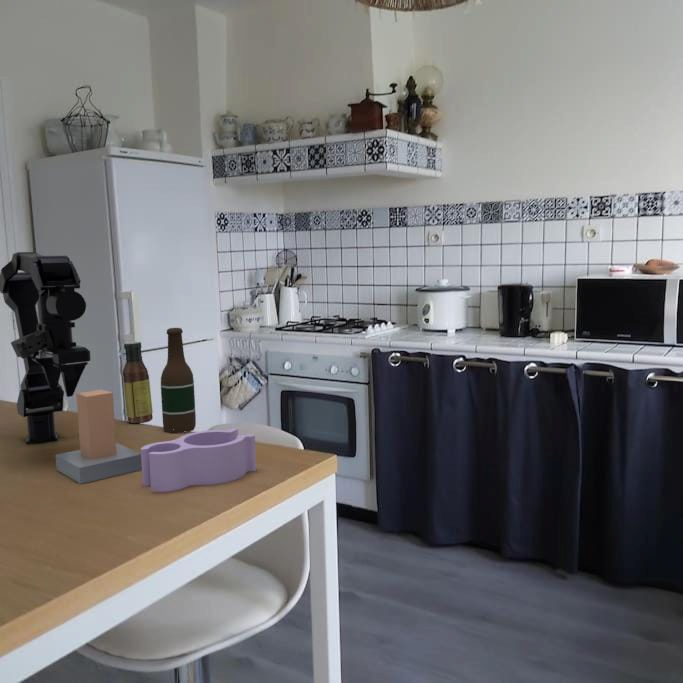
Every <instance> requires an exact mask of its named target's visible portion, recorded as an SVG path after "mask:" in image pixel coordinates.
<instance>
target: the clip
mask: <svg viewBox="0 0 683 683" xmlns="http://www.w3.org/2000/svg"><path fill="white" fill-rule="evenodd" d="M255 435H256V434H239V429H238V428H237V427H234V428H232V427H231V428H230V429H211V430H201V431H194V432H191V433H187V434H184V435H182V436H180V437H177V438H176V439H172V440H167V441H159V442H152V443H149V444H145V445H144V446H142V447H141V448H140V454H141V462H142V470H141V476H142V486H143V487H150V492H151V493H167V492H168V493H169V492H174V491H178V490H181V489H182V490H183V489H185V488H188V487H190V486H191V487H192V486H198V485H199V486H201V485H202V486H206V485H208V486H209V485H210V486H211V485H217V484H218V485H219V484H226V483H230V482H233V481H237V480H238V479H240V478H243V477H244V476H245V475H247V474H246V473H249V472H248V471H251V472H252V471H254V472H256V471H257V464H256V463H257V461H256V458H257V457H256V438H255V437H256V436H255ZM251 472H250V473H251ZM252 473H253V472H252Z"/></svg>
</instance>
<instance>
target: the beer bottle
mask: <svg viewBox="0 0 683 683" xmlns="http://www.w3.org/2000/svg"><path fill="white" fill-rule="evenodd" d="M182 334H183V329H182V327H181V328H180V327H170V328H168V329H166V335H167V360H166V365H165V366H164V368H163V370H162V372H161V376H160V393H161V395H160V396H161V398H160V400H161V410H162V411H161V414H162V426H163V431H164V432H165V433H169V432H170V434H179V433H178V432H184V431H189V432H191V431H194V430H195V428H196V426H197V425H196V424H197V423H196V420H197V419H196V418H197V417H196V415H197V414H196V396H195V380H194V375H193V374H194V373H193V371H192V369H191V367H190V366H189V365H188V363H187V362H186V358H185V352H184V345H183V335H182ZM173 429H174V430H173ZM184 433H186V432H184ZM184 433H183V434H184Z"/></svg>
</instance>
